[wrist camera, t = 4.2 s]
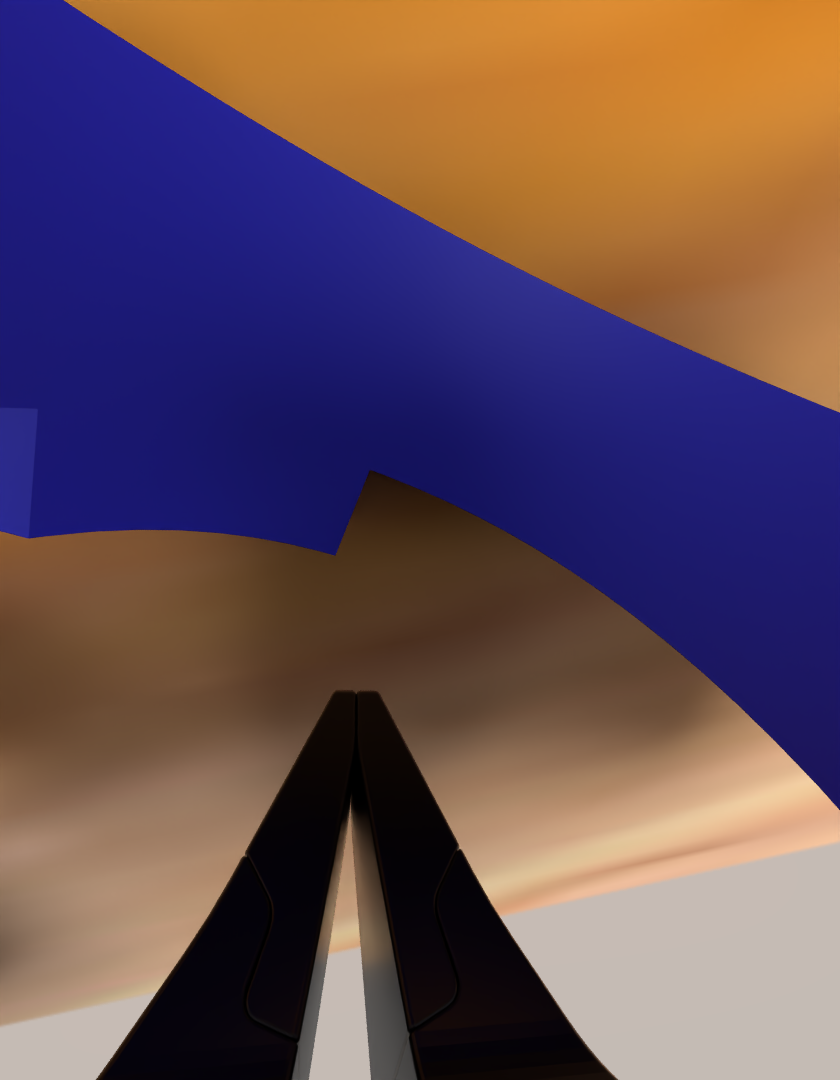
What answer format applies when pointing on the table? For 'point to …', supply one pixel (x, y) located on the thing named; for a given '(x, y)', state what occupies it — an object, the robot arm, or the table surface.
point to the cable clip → (376, 378)
